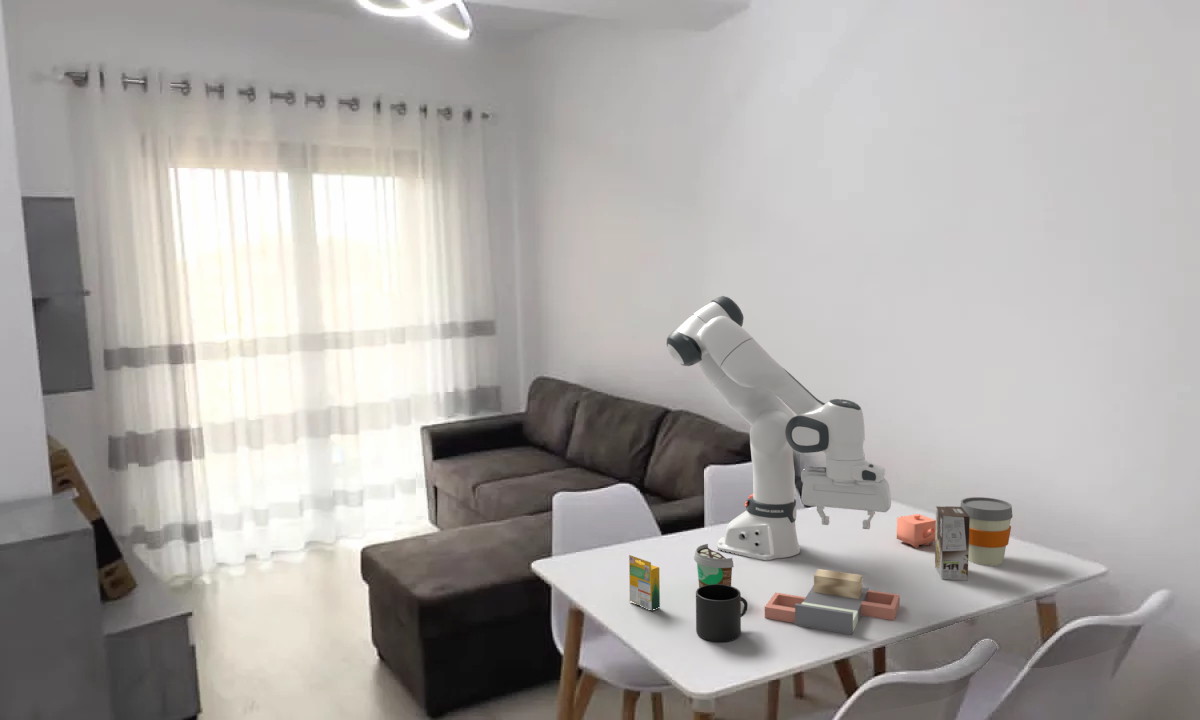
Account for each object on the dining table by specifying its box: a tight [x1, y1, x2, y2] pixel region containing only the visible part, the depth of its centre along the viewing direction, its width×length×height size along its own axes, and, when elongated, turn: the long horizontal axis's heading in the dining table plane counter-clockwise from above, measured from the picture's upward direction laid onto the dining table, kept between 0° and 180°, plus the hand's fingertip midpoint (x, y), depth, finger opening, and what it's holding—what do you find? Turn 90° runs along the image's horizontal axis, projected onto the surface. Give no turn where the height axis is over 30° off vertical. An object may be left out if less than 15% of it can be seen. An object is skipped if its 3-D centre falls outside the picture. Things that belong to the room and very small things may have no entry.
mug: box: [695, 584, 749, 643], centre depth 180 cm, size 9×12×9 cm
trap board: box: [764, 584, 901, 636], centre depth 189 cm, size 26×21×4 cm
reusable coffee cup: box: [959, 496, 1013, 566], centre depth 219 cm, size 13×13×15 cm
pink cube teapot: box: [896, 513, 936, 548], centre depth 232 cm, size 8×12×8 cm, turn 22°
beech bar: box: [813, 568, 863, 599], centre depth 194 cm, size 10×4×4 cm, turn 63°
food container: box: [693, 543, 734, 588], centre depth 201 cm, size 12×6×10 cm, turn 23°
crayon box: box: [628, 554, 661, 610], centre depth 194 cm, size 7×3×12 cm, turn 42°
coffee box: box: [934, 505, 970, 581], centre depth 210 cm, size 9×6×16 cm
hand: (845, 526), depth 199 cm, fingers open, 8 cm apart
